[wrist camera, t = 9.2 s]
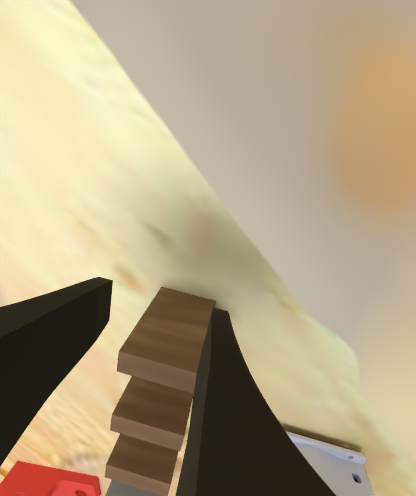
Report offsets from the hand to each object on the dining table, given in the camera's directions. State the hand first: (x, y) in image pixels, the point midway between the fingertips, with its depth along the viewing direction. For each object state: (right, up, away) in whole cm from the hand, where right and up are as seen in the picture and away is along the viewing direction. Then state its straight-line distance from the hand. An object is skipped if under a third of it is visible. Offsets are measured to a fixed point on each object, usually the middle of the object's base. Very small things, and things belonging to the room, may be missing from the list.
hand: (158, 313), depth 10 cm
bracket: (-19, -30, +25) cm, 43 cm away
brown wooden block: (0, -2, +12) cm, 12 cm away
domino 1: (-1, -7, +14) cm, 16 cm away
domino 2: (-2, -12, +16) cm, 20 cm away
